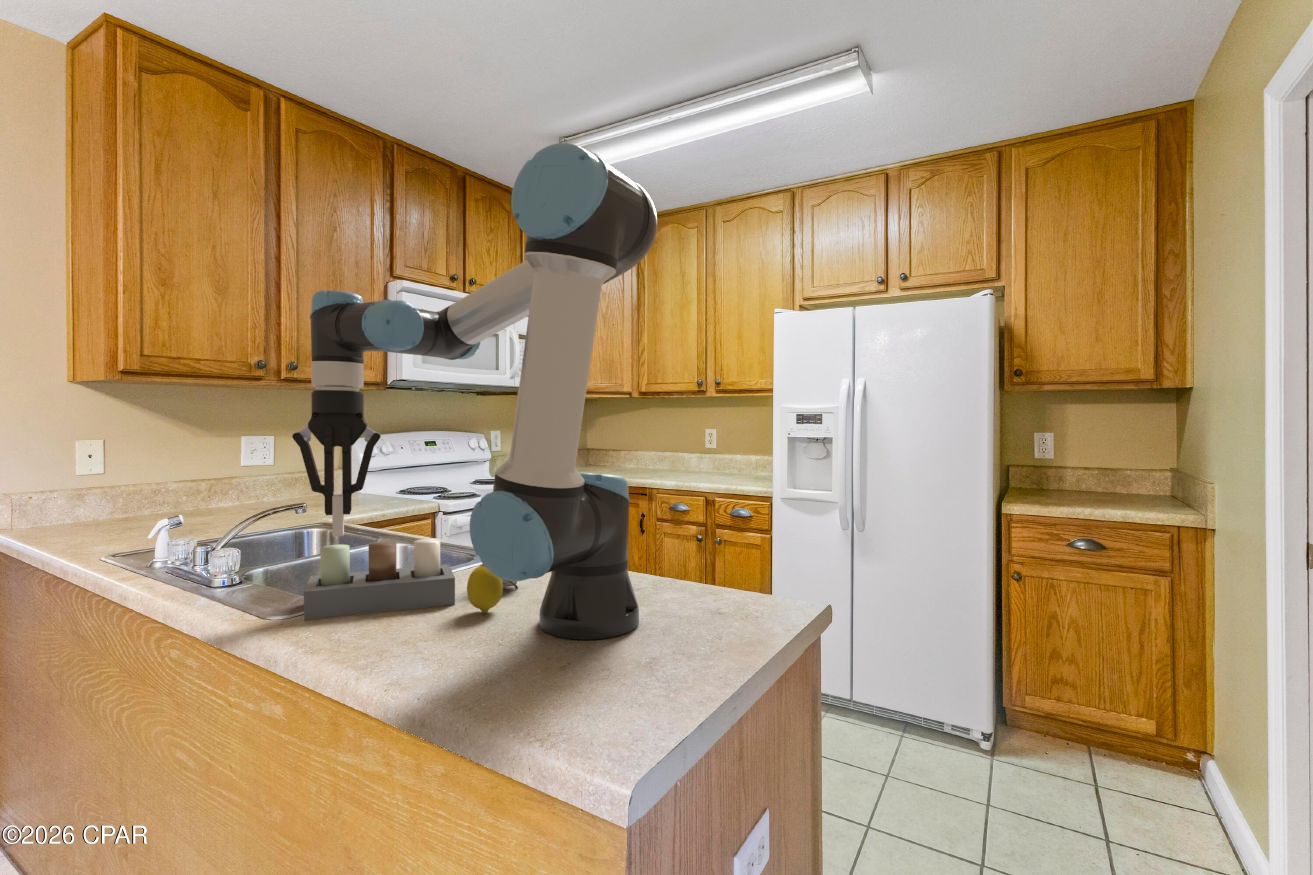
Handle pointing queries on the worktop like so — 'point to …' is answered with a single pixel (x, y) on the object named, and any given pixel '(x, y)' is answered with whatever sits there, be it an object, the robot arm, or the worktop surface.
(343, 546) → the key sage
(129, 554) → the worktop surface
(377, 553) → the key walnut
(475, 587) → the lemon
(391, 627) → the worktop surface
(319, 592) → the grey slotted block
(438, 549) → the key ivory
